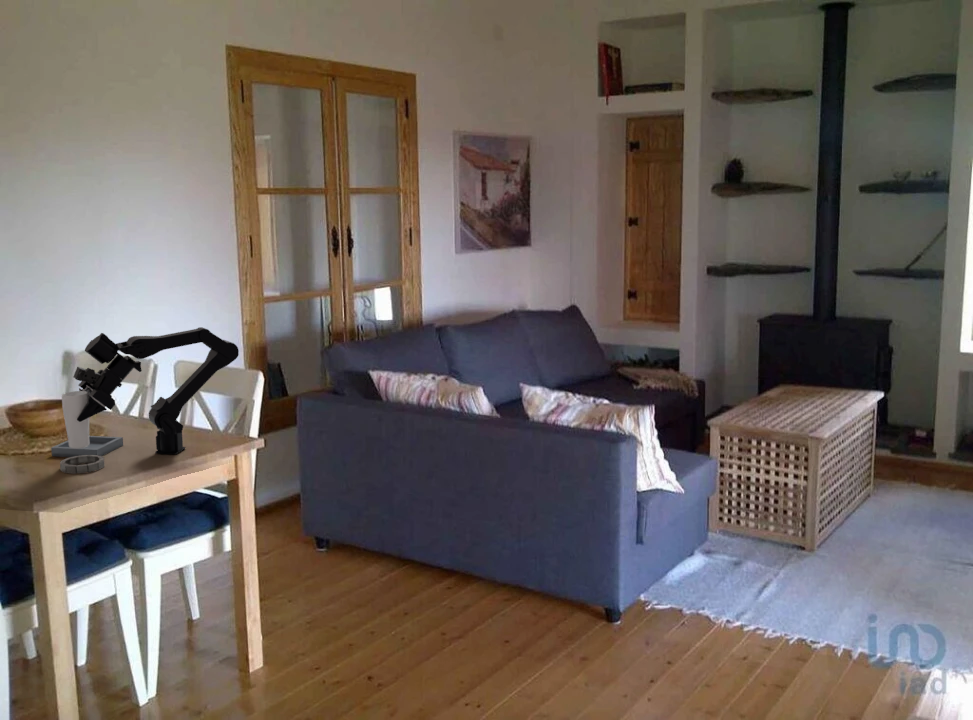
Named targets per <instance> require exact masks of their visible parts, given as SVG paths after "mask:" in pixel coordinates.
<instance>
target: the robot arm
mask: <svg viewBox="0 0 973 720" xmlns="http://www.w3.org/2000/svg"><path fill="white" fill-rule="evenodd" d="M200 343H202V344H203V345H205V346H206V347H207V348H209V349H210V350H209V351H208V354H207V356H206V358H205V360H204V361H203V362H202V363H201V365H199V367H198V368H197V369H196V370H195V371H193V373H192V374H191V375H190V376H189V377H188V378H187V379H186V380H185V381H184V382H183V383H182V384H181V385H180V386H179V387H178V388H177V389H176V390H175V391H174V393H172V394H171V395H170V396H169V397H166V398H164V397H162V396H160V397H159V398H158V399H157V401H156V402H155V403H154V404H151V405H150V410H149V412H148V419H149V421H150V423H152V424H153V425H154V426H155V427H156V429H157V431H156V436H155V445H156V446H155V449H156V450H155V454H158V455H159V454H161V455H177V454H179V453H181V452H183V451H184V450H186V449H185V448H186V446H184V443H183V429H184V425H183V424H182V423H181V422H179V421H178V420H177V419H178V418H179V417H180V415H181V411H182V409H183V407H184V406H185V405H186V404H187V403H188V402H189V401H190V400H191V399H192V397H194V396H195V394H197V393H198V391H199V390H200V389H201V388H202V387H203V386H204V385H205V384H206V383H208V381H209V380H210V379H211V378H212V377H213V376H214V375H215V374H216V372H218V371H220V370H222V369H223V368H225V367H227V366H229V365H230V364H231V363H233V362H235V360H236V359H238V357H239V351H240V350H239V347H238V346H237V345H236V344H235V343H234V342H231V341H229V340H225V339H222V338H220V337H219V336H217V335H216V334H215V333H213V332H211V331H210V330H209V329H208V328H205V327H197V328H193V329H188V330H183V331H178V332H173V333H167V334H163V335H158V336H157V335H133V336H131V337H129V338H128V339H127V340H126V341H125V340H124V341H122V342H121V341H120V342H118V343H115V342H114V341H113V340H112V339H110V337H108V335H106V334H105V333H104V332H101V333H100V334H99V335H98V336H96V337H94V338H93V339H92V340H90V341H89V342H88V344H87V345H86V346H85V348H84V352H86V354H88V355H89V356H90V357H91V358H93V359H95V361H96V362H98V363H99V364H101V365H102V364H105V363H106V364H108V365H106V367H105V368H104V369H100V370H98V371H97V372H96V371H95V369H93V368H91V367H90V368H89V367H87V368H84V367H80V366H76V369H75V371H74V374H73V376H72V377H73V378H74V379H75V380H76V381H80V383H79V384H78V387H79V388H78V391H86V392H88V395H87V401H88V402H87V404H86V406H85V407H84V409H83V410H82V412H81V413H80V415H79V416H78V418H77V420H78V421H79V422H81V421H83V420H85V419H87V418H89V419H90V418H91V417H94V416H95V415H97V414H100V413H101V412H104V411H107V410H110V411H111V410H112V409H113V408H114V406H115V405H116V401H115V399H114V398H112V397H113V396H112V394H113V393H114V391H115V390H116V389H117V388H121V387H122V386H123V384H122V383H123V382H124V380H125V379H126V378H127V376H129V374H130V373H131V372H132V371H133V370H136V371H137V372H139V373H140V372H142V362H141V361H139V360H142V359H146V358H149V357H151V356H154V355H156V354H158V353H159V352H162V351H164V350H168V349H170V350H171V349H174V348H175V349H176V348H180V347H185V346H189V345H190V346H191V345H195V344H200ZM119 352H121V353H123V354H124V355H125V356H123V355H121V354H120V353H119ZM129 355H130V356H129ZM132 357H133V358H135V359H138V360H134V359H133V358H132ZM183 449H184V450H183ZM182 450H183V451H182ZM180 451H181V452H180ZM178 452H179V453H178Z"/></svg>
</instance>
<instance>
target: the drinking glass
mask: <svg viewBox="0 0 973 720" xmlns="http://www.w3.org/2000/svg"><path fill="white" fill-rule="evenodd" d="M87 395H88V392H86V391H79V390H72V391H67V392H63V393H62V394H61V404H62V405H61V406H62V413H63V418H64V424H65V430H66V434H67V435H66V437H67V440H68V444H69V447H70V448H73V449H80V448H85V447H87V446H89V444H90V440H89V436H90V417H89V418H87V419H85V420H83V421H81V422H79V421H78V420H77V418H78V416H79V415H80V413H81V412H82V410H83V409H84V407H85V406H86V404H87V402H88V401H87Z"/></svg>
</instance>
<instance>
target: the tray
mask: <svg viewBox="0 0 973 720" xmlns="http://www.w3.org/2000/svg"><path fill="white" fill-rule="evenodd" d="M89 440H90V444H89V446H87V447H85V448H80V449H73V448H70V447H69V444H68V439H67V440H66V441H64V442H63V441H62V442H61V443H59V444H56V445H54V446H51V448H50V451H51V457H59V458H60V457H63V458H64V457H65V458H70V457H74V456H81V455H99V456H102V457H104V456H105V455H108V454H109V453H111V452H113V451H115V450H117V449H119V448H121V447H123V446H124V437H122V436H102V435H101V436H100V435H89Z"/></svg>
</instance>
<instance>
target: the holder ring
mask: <svg viewBox="0 0 973 720" xmlns="http://www.w3.org/2000/svg"><path fill="white" fill-rule="evenodd" d="M59 466H60V467H59V468H60V472H63V473H64V474H75V475H76V474H77V473H78V474H86V473H85V472H88V473H92V472H91V471H93V472H96V471H95V470H97V471H100V470H101V468H102V469H103V468H105V457H104V456H99V455H81V456H74V457H65V459H62V460H61V461H60V462H59ZM99 469H100V470H99Z"/></svg>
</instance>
